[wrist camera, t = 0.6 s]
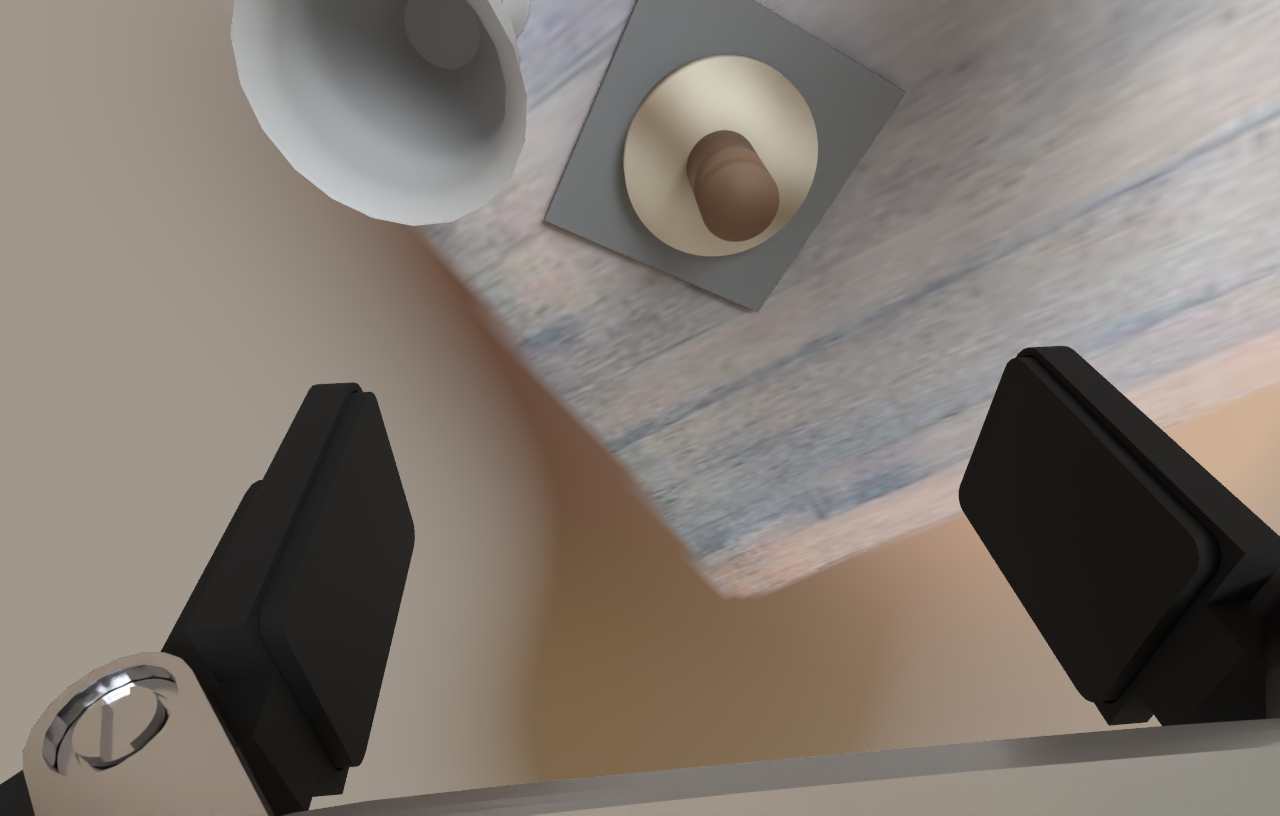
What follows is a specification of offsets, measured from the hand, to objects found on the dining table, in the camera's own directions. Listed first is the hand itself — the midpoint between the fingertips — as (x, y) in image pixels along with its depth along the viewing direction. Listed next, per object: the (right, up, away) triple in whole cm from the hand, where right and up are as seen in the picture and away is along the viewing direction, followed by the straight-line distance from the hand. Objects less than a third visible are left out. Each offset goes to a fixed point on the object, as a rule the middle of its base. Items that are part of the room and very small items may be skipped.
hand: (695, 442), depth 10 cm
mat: (+3, +14, +26) cm, 30 cm away
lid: (+3, +14, +26) cm, 29 cm away
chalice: (-8, +20, +21) cm, 30 cm away
